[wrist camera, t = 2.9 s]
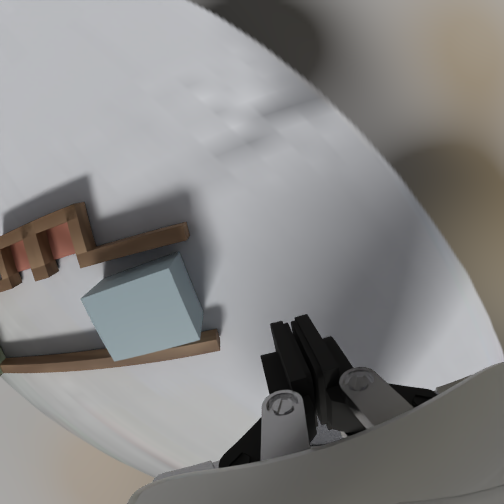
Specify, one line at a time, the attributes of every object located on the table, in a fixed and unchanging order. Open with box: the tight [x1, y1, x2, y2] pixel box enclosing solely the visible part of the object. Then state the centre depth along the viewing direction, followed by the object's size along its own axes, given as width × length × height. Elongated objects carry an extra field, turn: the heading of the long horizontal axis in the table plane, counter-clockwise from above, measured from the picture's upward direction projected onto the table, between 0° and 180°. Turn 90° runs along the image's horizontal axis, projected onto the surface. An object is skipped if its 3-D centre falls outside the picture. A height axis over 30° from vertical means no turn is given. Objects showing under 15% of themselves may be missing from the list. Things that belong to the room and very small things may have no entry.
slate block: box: [81, 252, 204, 362], centre depth 22 cm, size 6×8×5 cm
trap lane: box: [0, 202, 220, 376], centre depth 21 cm, size 16×32×5 cm, turn 102°
